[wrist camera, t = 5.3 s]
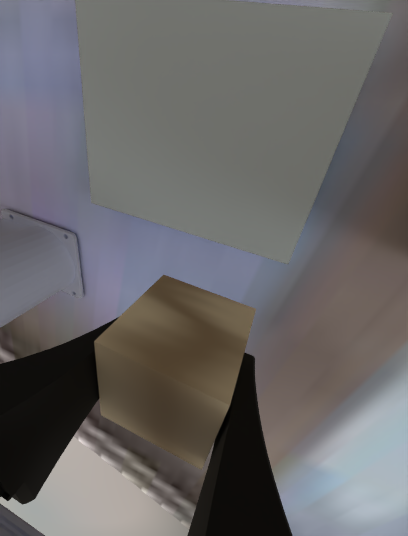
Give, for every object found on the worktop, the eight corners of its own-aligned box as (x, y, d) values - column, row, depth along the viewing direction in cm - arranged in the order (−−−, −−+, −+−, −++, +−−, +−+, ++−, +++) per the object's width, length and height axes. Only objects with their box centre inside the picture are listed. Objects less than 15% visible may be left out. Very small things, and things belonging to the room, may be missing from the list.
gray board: (101, 199, 20) (91, 202, 19) (90, -1, 14) (74, -12, 13) (288, 257, 17) (288, 264, 16) (384, 25, 10) (392, 13, 10)
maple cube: (156, 339, 15) (101, 414, 11) (163, 274, 12) (94, 341, 8) (231, 372, 14) (201, 469, 10) (256, 309, 11) (230, 405, 7)
